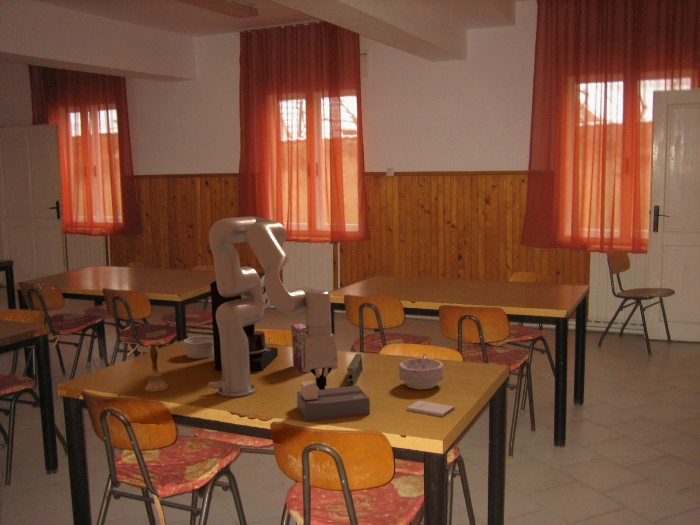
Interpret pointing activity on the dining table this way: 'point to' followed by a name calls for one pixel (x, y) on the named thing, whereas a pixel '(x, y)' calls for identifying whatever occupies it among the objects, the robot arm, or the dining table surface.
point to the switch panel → (334, 403)
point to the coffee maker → (256, 338)
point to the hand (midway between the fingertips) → (321, 388)
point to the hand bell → (155, 374)
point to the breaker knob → (309, 390)
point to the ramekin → (199, 347)
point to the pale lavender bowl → (421, 373)
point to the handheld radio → (354, 369)
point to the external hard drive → (430, 408)
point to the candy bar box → (298, 345)
